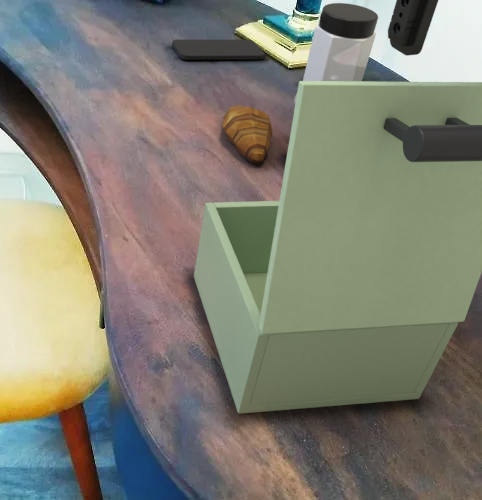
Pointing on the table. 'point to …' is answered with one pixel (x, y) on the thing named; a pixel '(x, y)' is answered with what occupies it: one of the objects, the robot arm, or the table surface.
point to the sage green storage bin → (297, 343)
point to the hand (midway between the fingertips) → (458, 46)
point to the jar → (341, 43)
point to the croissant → (248, 132)
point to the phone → (217, 49)
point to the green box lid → (378, 207)
